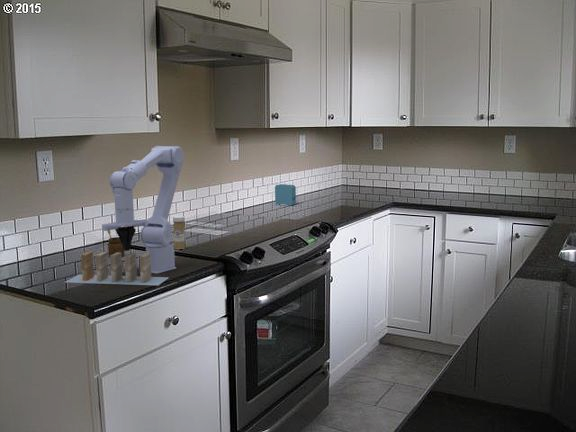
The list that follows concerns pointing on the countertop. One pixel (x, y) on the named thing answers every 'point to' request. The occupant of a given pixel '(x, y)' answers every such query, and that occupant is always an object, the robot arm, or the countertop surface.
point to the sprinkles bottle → (179, 232)
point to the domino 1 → (87, 266)
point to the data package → (285, 194)
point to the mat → (122, 281)
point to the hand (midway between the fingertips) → (126, 250)
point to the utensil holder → (115, 245)
